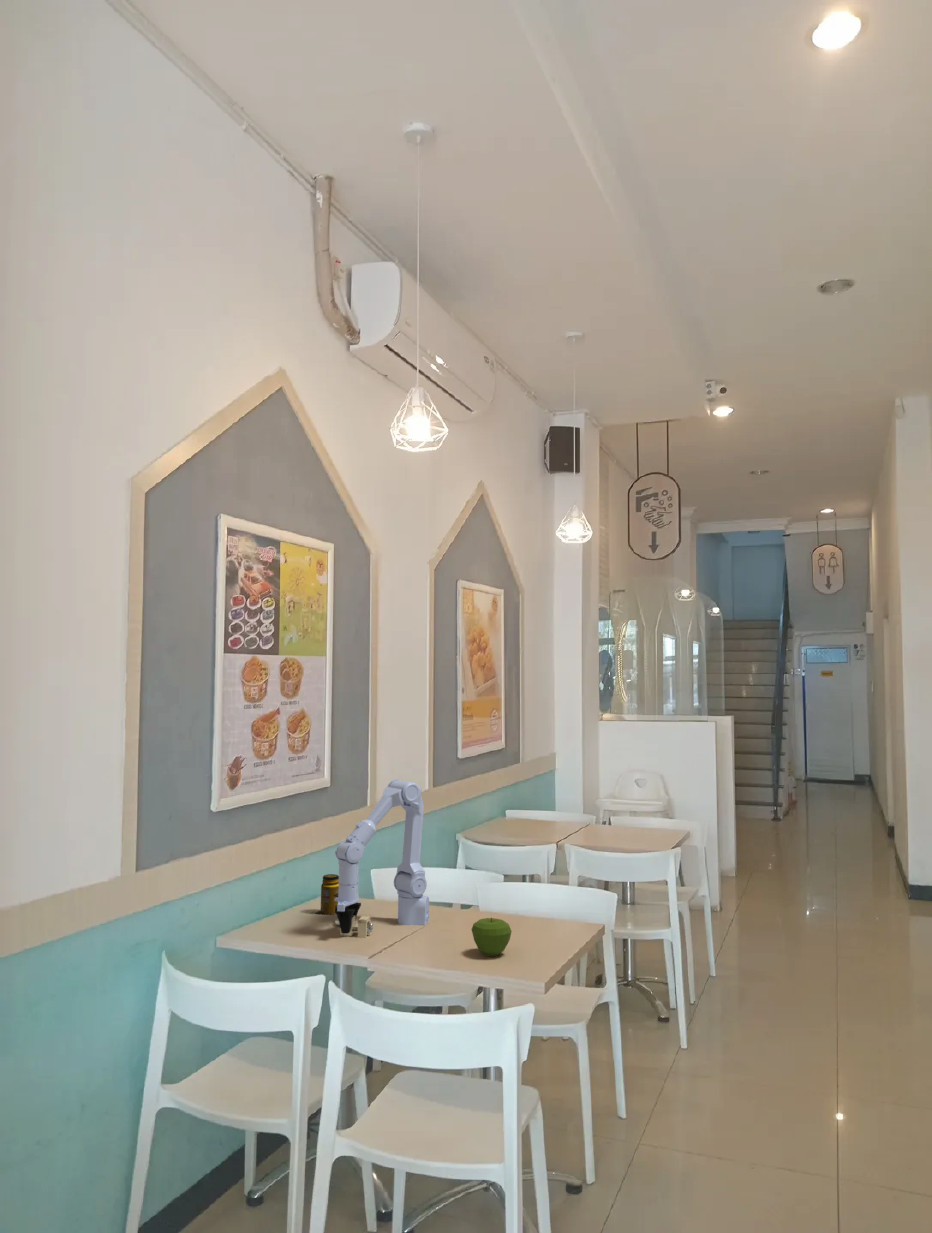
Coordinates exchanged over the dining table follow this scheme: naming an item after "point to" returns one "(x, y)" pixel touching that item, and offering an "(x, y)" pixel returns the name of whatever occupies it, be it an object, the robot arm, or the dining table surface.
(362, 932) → the grey dial panel
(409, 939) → the dining table surface
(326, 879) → the condiment
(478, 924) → the apple
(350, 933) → the beige rectangular block
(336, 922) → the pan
